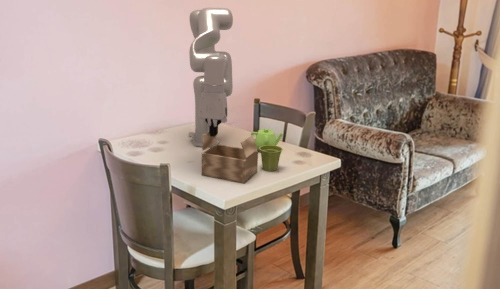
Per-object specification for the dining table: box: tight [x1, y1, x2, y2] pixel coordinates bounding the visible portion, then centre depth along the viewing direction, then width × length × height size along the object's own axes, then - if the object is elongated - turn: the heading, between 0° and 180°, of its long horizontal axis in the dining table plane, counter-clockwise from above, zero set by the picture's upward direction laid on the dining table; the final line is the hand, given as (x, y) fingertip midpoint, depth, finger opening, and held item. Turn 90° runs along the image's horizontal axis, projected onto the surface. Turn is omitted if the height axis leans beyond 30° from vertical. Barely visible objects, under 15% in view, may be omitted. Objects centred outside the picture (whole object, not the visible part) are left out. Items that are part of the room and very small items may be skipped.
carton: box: [201, 143, 259, 185], centre depth 191 cm, size 18×13×9 cm
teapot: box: [250, 128, 284, 153], centre depth 221 cm, size 12×12×10 cm
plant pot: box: [259, 145, 283, 172], centre depth 198 cm, size 9×9×9 cm
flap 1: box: [201, 132, 217, 151], centre depth 192 cm, size 6×11×1 cm
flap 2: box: [240, 134, 258, 158], centre depth 186 cm, size 6×11×1 cm
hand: (213, 135), depth 190 cm, fingers closed
